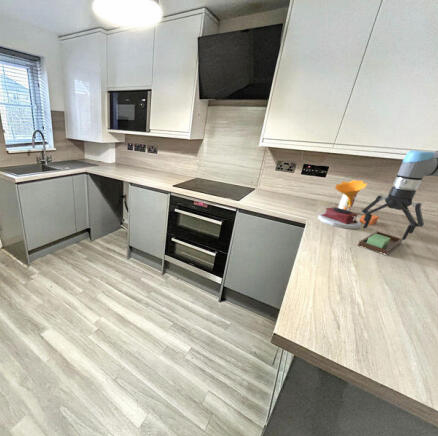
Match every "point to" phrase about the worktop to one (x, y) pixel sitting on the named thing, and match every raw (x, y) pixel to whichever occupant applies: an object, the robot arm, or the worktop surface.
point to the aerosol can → (346, 202)
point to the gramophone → (344, 216)
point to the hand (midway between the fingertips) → (383, 233)
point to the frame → (391, 245)
